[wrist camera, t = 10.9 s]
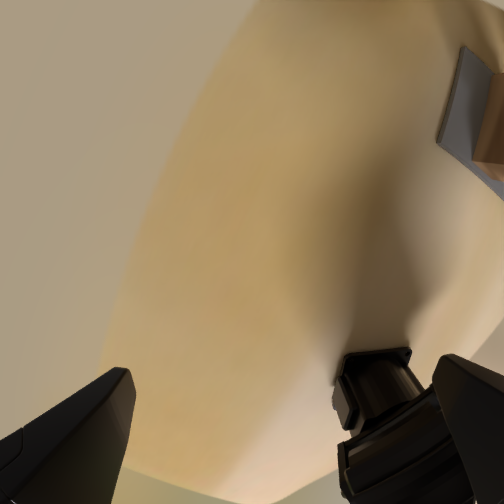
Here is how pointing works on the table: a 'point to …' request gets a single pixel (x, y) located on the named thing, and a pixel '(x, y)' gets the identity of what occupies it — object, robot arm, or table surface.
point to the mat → (468, 114)
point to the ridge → (492, 132)
